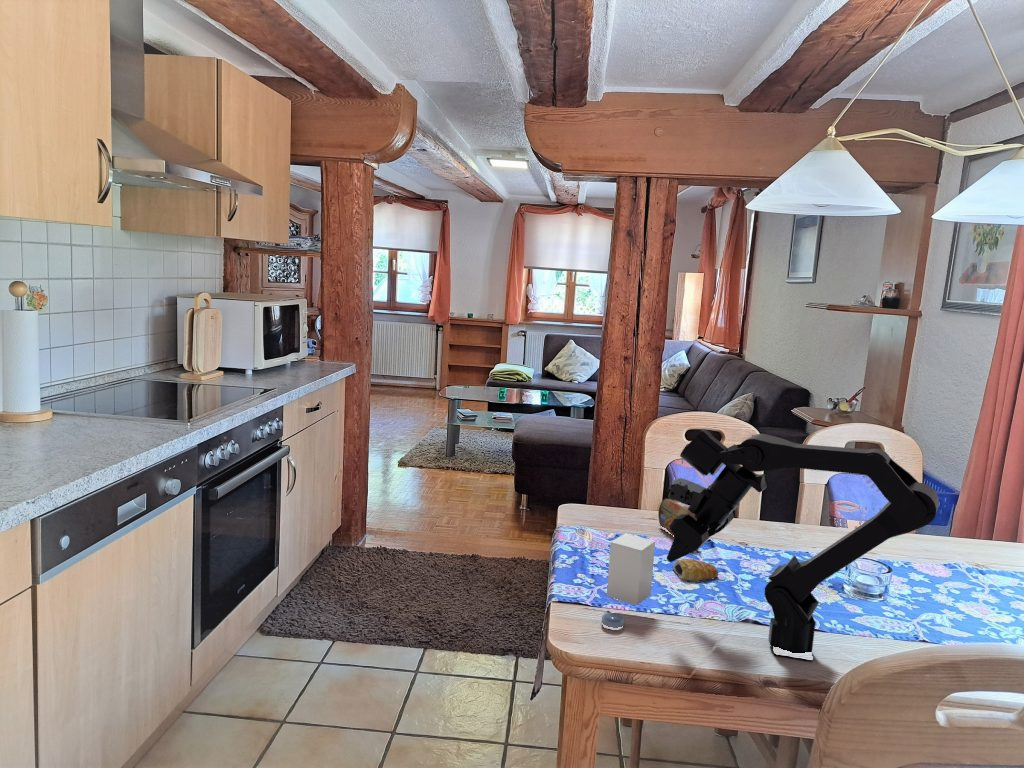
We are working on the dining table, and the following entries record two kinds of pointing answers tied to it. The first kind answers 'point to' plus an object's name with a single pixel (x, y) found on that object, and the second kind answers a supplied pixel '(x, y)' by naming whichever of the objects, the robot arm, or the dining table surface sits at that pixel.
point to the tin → (672, 512)
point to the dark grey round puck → (612, 620)
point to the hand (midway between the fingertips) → (678, 553)
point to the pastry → (694, 570)
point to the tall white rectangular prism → (630, 568)
